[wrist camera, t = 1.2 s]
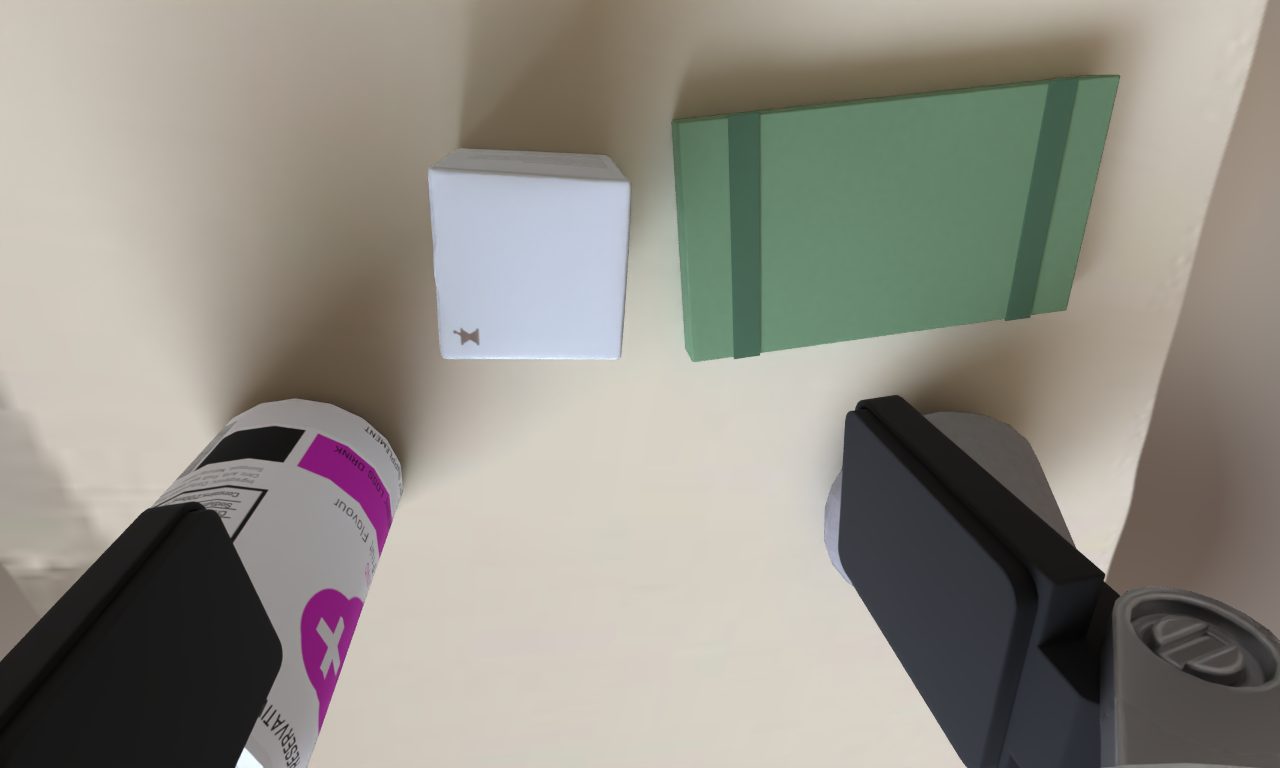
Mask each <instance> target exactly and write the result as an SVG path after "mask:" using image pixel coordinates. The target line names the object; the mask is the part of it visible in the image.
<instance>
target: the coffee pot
mask: <svg viewBox="0 0 1280 768" xmlns="http://www.w3.org/2000/svg"><path fill="white" fill-rule="evenodd" d="M923 416H924V417H925V418H926V419H927V420H928V421H930V422H931V423H932V424H933V425H934V426H935V427H936V428H938V429H939V430H940V431H941V432H942V433H943V434H945V435H946V436H947V437H948V438H949V439H950V440H951V441H953V442H954V443H955V444H956V445H957V446H958V447H959V448H961V449H962V450H963V451H964V452H965V453H966V454H968V455H969V456H970V457H971V458H972V459H973V460H974V461H976V462H977V463H978V464H979V465H980V466H981V467H983V468H984V469H985V470H986V471H987V472H988V473H989V474H991V475H992V476H993V477H994V478H995V479H996V480H998V481H999V482H1000V483H1001V484H1002V485H1003V486H1004V487H1006V488H1007V489H1008V490H1009V491H1010V492H1011V493H1012V494H1014V495H1015V496H1016V497H1017V498H1018V499H1019V500H1021V501H1022V502H1023V503H1024V504H1025V505H1026V506H1027V507H1029V508H1030V509H1031V510H1032V511H1033V512H1034V513H1036V514H1037V515H1038V516H1039V517H1040V518H1041V519H1042V520H1044V521H1045V522H1046V523H1047V524H1048V525H1049V526H1051V527H1052V528H1053V529H1054V530H1055V531H1056V532H1057V533H1059V534H1060V535H1061V536H1062V537H1063V538H1064V539H1066V540H1067V541H1068V542H1069V543H1070V544H1071V545H1072V546H1074V547H1075V545H1074V542H1073V540H1072V537H1071V535H1070V533H1069V530H1068V528H1067V526H1066V523H1065V521H1064V519H1063V516H1062V514H1061V512H1060V509H1059V507H1058V505H1057V502H1056V500H1055V498H1054V495H1053V493H1052V491H1051V488H1050V486H1049V484H1048V481H1047V479H1046V477H1045V474H1044V472H1043V470H1042V467H1041V465H1040V463H1039V461H1038V459H1037V457H1036V455H1035V453H1034V451H1033V449H1032V447H1031V445H1030V443H1029V442H1028V441H1027V440H1026V439H1025V438H1024V437H1023V436H1022V435H1020V434H1019V433H1018V432H1017V431H1016V430H1015V429H1013V428H1012V427H1011V426H1010V425H1008V424H1006V423H1003V422H1001V421H998V420H995V419H992V418H990V417H987V416H984V415H981V414H974V413H963V412H947V411H941V412H936V413H930V414H925V415H923ZM842 469H843V468H842ZM841 486H842V470H841V472H840V473H839V475H838V476H837V478H836V480H835V481H834V483H833V484H832V487H831V490H830V493H829V496H828V499H827V503H826V506H825V530H824V541H825V544H826V547H827V550H828V553H829V556H830V559H831V562H832V565H833V566H834V567H835V568H836V569H837V571H838V572H839V573H840V574H841V575H842V576H843V578H844V579H845V580H846V581H847V582H848V583H849V584H851V585H852V586H853V584H852V583H851V581H850V580H849V578H848V576H847V575H846V573H845V571H844V569H843V567H842V565H841V562H840V558H839V553H838V537H839V520H840V503H841ZM1075 548H1076V547H1075Z"/></svg>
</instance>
